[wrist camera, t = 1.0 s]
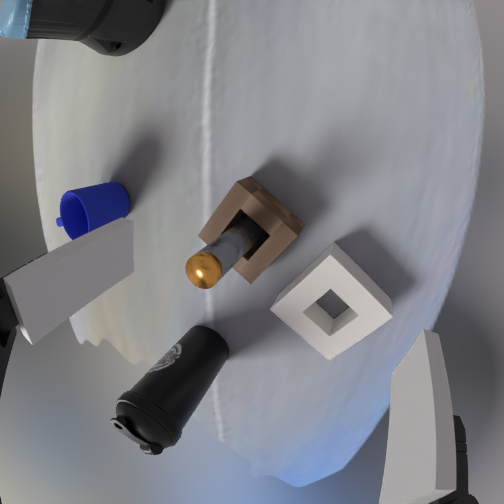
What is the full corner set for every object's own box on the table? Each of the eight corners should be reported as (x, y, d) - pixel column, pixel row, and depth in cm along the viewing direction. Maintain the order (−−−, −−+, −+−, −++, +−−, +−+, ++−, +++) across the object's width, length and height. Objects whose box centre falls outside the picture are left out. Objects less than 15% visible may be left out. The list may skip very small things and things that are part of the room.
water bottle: (204, 313, 46) (114, 411, 27) (244, 356, 47) (176, 463, 27) (174, 333, 52) (95, 416, 32) (210, 371, 52) (145, 460, 33)
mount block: (212, 226, 39) (197, 235, 36) (249, 176, 35) (236, 181, 31) (261, 270, 39) (250, 284, 36) (304, 225, 35) (297, 235, 31)
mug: (88, 187, 46) (45, 202, 38) (128, 171, 41) (79, 185, 33) (99, 228, 49) (59, 247, 40) (140, 220, 44) (95, 242, 35)
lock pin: (239, 225, 38) (180, 271, 26) (253, 208, 36) (195, 248, 24) (258, 241, 38) (205, 295, 26) (272, 225, 36) (223, 274, 24)
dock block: (278, 293, 40) (269, 309, 36) (333, 241, 34) (330, 254, 31) (332, 342, 40) (328, 360, 36) (391, 299, 34) (392, 316, 30)
